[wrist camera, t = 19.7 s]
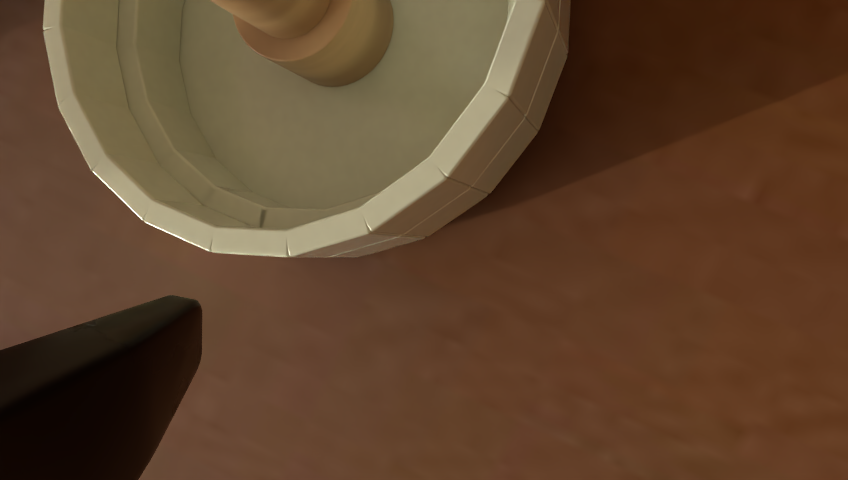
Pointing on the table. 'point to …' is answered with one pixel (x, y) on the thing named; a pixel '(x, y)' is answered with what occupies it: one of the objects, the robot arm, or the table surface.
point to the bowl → (302, 120)
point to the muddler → (316, 35)
